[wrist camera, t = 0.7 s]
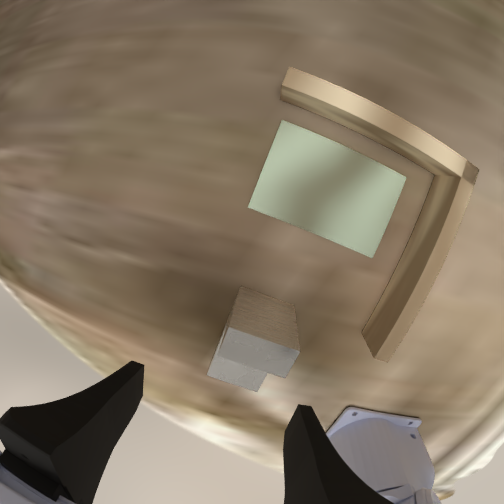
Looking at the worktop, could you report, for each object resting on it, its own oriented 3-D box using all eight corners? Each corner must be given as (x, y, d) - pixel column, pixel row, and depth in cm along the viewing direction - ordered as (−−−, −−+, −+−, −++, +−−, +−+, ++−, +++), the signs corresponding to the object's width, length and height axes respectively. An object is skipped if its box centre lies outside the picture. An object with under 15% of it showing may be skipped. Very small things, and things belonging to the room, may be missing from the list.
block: (241, 285, 21) (228, 327, 15) (294, 304, 21) (300, 351, 15) (211, 360, 23) (195, 411, 17) (258, 376, 23) (253, 429, 17)
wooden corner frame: (451, 167, 18) (479, 169, 14) (374, 336, 21) (387, 362, 18) (286, 84, 17) (289, 66, 14) (212, 278, 21) (200, 298, 17)
